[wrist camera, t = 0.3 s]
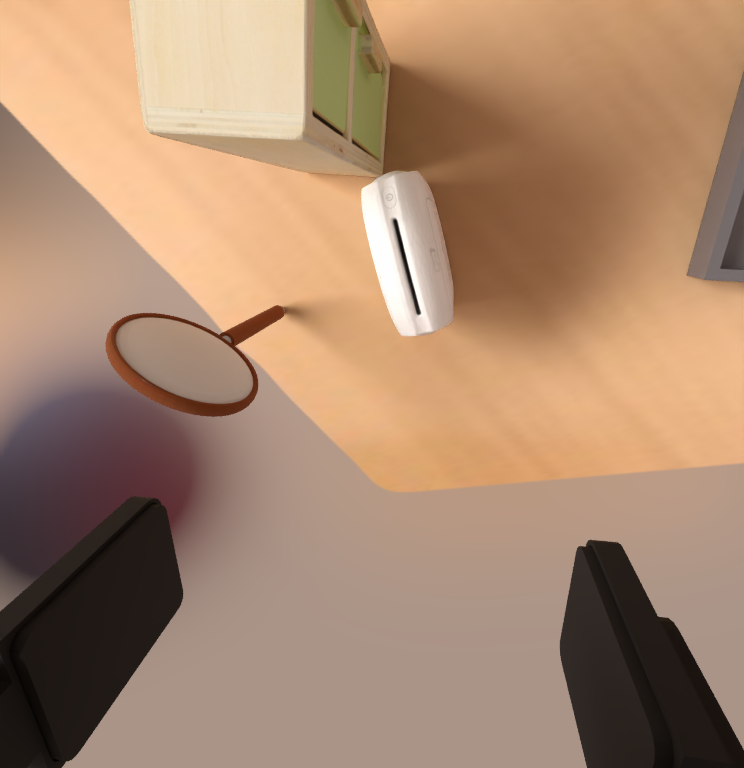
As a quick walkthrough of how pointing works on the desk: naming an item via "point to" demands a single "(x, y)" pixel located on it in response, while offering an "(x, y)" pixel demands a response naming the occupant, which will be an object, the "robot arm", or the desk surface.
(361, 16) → the toy refrigerator
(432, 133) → the desk surface
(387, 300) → the photo printer
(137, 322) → the magnifying glass
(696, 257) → the tray
